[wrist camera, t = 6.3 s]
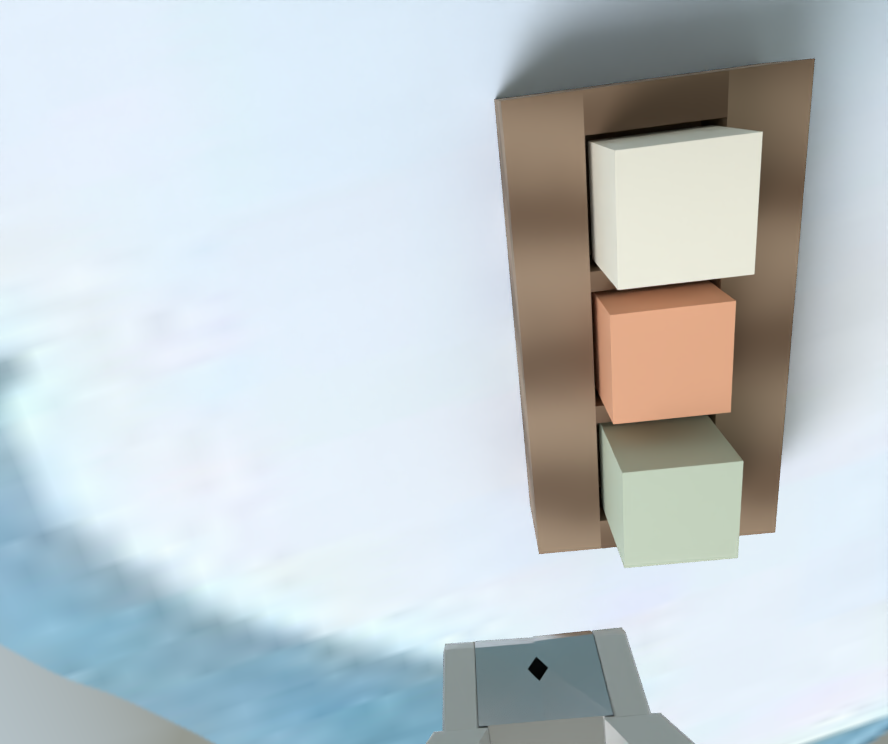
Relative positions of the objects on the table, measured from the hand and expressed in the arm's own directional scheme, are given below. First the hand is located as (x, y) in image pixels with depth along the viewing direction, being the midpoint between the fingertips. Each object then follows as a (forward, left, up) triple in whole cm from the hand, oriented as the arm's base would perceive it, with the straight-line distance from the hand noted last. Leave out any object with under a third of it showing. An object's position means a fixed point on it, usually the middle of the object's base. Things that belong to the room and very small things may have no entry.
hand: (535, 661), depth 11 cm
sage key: (+9, +8, -21) cm, 24 cm away
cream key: (-4, +7, -21) cm, 22 cm away
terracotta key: (+3, +8, -22) cm, 24 cm away
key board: (+3, +8, -24) cm, 25 cm away
